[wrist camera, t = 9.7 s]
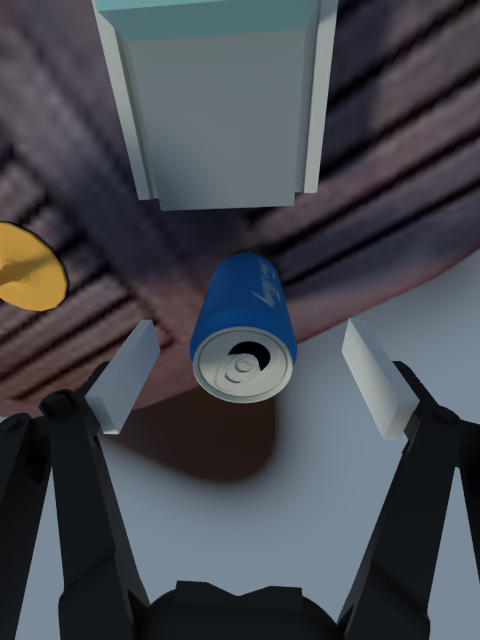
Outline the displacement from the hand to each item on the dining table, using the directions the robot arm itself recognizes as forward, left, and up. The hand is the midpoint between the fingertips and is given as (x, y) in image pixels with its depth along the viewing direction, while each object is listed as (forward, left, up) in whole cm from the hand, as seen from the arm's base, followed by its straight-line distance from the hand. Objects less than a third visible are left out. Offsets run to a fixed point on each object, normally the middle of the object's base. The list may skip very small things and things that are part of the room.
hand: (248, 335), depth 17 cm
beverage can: (0, 0, -9) cm, 9 cm away
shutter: (-1, +12, -5) cm, 13 cm away
